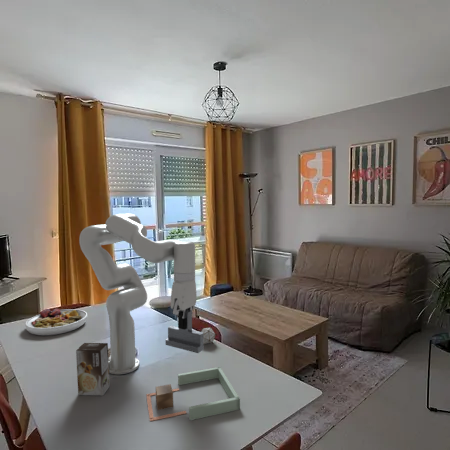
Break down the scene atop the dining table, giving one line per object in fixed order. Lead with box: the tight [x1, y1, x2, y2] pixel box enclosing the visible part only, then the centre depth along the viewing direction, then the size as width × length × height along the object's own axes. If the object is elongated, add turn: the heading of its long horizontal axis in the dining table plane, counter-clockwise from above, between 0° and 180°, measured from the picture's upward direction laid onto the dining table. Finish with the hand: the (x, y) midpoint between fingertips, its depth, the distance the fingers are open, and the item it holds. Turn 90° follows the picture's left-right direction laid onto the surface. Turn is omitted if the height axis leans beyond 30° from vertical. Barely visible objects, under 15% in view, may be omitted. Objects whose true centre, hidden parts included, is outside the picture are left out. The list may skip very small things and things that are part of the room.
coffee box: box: [75, 342, 110, 396], centre depth 112 cm, size 9×6×16 cm
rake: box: [164, 310, 205, 354], centre depth 113 cm, size 4×14×13 cm, turn 62°
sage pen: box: [177, 366, 241, 421], centre depth 109 cm, size 16×21×4 cm
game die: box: [200, 325, 218, 345], centre depth 150 cm, size 9×8×10 cm
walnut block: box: [155, 383, 174, 411], centre depth 104 cm, size 5×5×5 cm
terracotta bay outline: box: [146, 388, 187, 422], centre depth 104 cm, size 11×14×1 cm
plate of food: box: [25, 308, 88, 336], centre depth 174 cm, size 30×30×8 cm
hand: (184, 326), depth 114 cm, fingers closed on rake, 2 cm apart
